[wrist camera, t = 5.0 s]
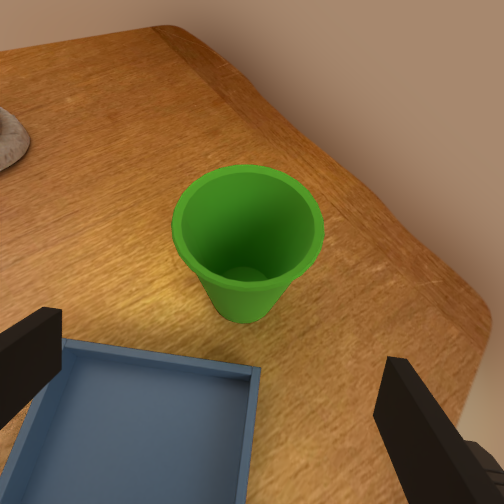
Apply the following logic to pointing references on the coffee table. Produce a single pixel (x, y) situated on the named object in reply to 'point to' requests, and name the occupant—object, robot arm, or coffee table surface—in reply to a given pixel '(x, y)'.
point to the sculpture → (11, 139)
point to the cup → (247, 236)
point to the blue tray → (135, 431)
